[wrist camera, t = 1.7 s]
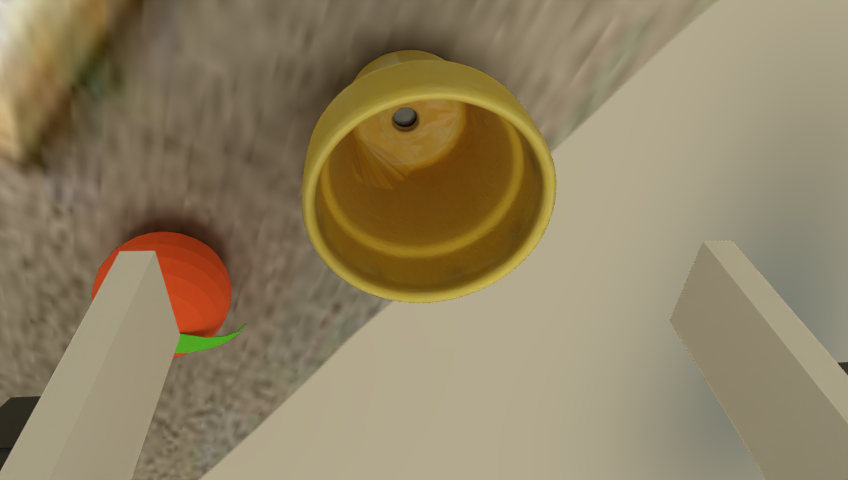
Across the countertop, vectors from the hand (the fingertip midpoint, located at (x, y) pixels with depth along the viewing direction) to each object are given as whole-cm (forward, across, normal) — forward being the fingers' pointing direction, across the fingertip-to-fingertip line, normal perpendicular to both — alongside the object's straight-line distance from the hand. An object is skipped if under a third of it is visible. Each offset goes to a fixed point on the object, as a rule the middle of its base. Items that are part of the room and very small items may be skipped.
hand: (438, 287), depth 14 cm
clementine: (+18, +12, +13) cm, 25 cm away
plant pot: (+18, 0, +4) cm, 19 cm away
